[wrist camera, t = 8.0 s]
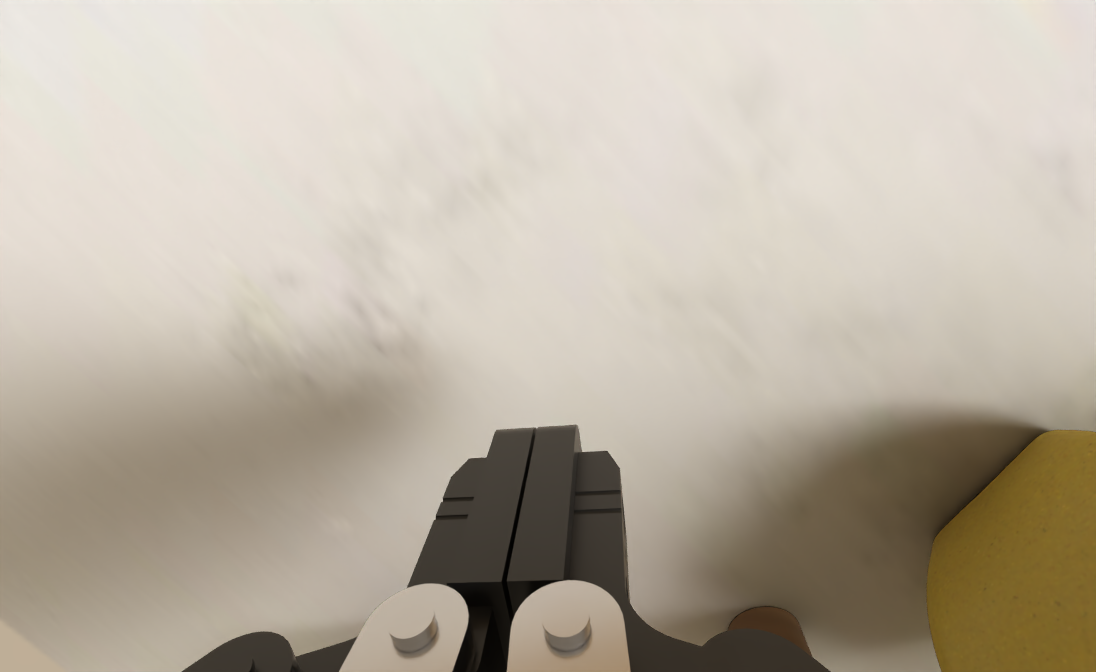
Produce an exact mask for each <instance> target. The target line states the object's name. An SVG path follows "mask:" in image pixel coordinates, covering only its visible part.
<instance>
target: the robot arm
mask: <svg viewBox="0 0 1096 672" xmlns="http://www.w3.org/2000/svg"><path fill="white" fill-rule="evenodd" d="M182 672H830V671H829V670H828V669H826V668H825V667H824V666H823V665H821V664H820V663H819V662H818V661H816V660H815V659H814V658H813V657H811V656H810V655H809V654H807V653H806V652H805V651H804V650H802V649H801V648H800V647H798V646H797V645H795V644H794V643H792V642H791V641H789V640H787V639H785V638H783V637H781V636H779V635H776V634H773V633H771V632H767V631H763V630H758V629H748V628H745V629H734V630H730V631H726V632H723V633H721V634H718V635H716V636H715V637H713V638H712V639H710V640H709V641H708V642H707V643H706V644H705V645H704V646H703V647H701V646H697V645H694V644H691V643H687V642H684V641H681V640H677V639H674V638H672V637H669V636H666V635H664V634H662V633H660V632H658V631H656V630H655V629H653V628H652V627H650V626H649V625H648V624H646V623H645V622H644V621H643V620H642V619H641V618H640V617H639V616H638V615H637V613H636V612H635V611H634V609H633V608H632V606H631V604H630V598H629V581H628V561H627V540H626V528H625V517H624V507H623V497H622V486H621V476H620V468H619V467H618V465H617V464H616V462H615V461H614V460H613V458H612V457H611V456H610V454H609V453H608V451H596V452H582V450H581V442H580V434H579V429H578V426H577V425H566V426H549V427H538V428H537V429H536V428H519V429H503V430H496V432H495V434H494V437H493V440H492V443H491V446H490V449H489V452H488V455H487V458H471V459H468V460H467V461H466V462H465V464H464V465H463V466H462V467H461V468H460V469H459V470H458V471H457V472H456V473H455V474H454V475H453V476H452V477H451V479H450V481H449V484H448V486H447V489H446V491H445V494H444V496H443V502H441V504H440V507H439V509H438V512H437V514H436V520H434V522H433V524H432V527H431V529H430V532H429V534H428V537H427V539H426V542H425V544H424V547H423V549H422V552H421V554H420V557H419V559H418V562H417V564H416V567H415V569H414V572H413V574H412V577H411V579H410V582H409V584H408V587H407V588H406V589H404V590H402V591H399V592H397V593H396V594H394V595H392V596H391V597H389V598H388V599H386V600H385V601H384V602H382V603H381V604H380V605H379V606H378V607H377V608H376V609H375V610H374V611H373V613H372V614H371V615H370V616H369V618H368V619H367V621H366V622H365V624H364V626H363V628H362V629H361V631H360V633H359V635H358V637H356V638H354V639H351V640H348V641H345V642H343V643H339V644H336V645H333V646H330V647H326V648H323V649H320V650H317V651H313V652H310V653H307V654H304V655H300V656H297V657H295V655H294V653H293V650H292V648H291V646H290V644H289V642H288V641H287V640H286V639H285V638H284V637H283V636H281V635H279V634H276V633H272V632H255V633H250V634H246V635H243V636H240V637H237V638H235V639H232V640H230V641H228V642H226V643H224V644H223V645H221V646H219V647H218V648H216V649H214V650H213V651H211V652H210V653H208V654H207V655H205V656H204V657H203V658H201V659H200V660H198V661H197V662H195V663H194V664H192V665H191V666H189V667H188V668H186V669H185V670H183V671H182Z"/></svg>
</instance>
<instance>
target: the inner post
mask: <svg viewBox="0 0 1096 672" xmlns="http://www.w3.org/2000/svg"><path fill="white" fill-rule="evenodd" d="M745 628H748V629H758V630H763V631H767V632H771V633H773V634H776V635H779V636H781V637H783V638H785V639H787V640H789V641H791V642H792V643H794V644H795V645H797V646H798V647H800V648H801V649H802V650H804V651H805V652H806V653H807V654H809V655H810V656H811V657H812V655H811V652H810V650H809V647H808V645H807V642H806V640H805V637H804V635H803V632H802V630H801V627H800V625H799V622H798V621H797V619H796V618H795V617H794V616H793V615H792V614H791V613H789V612H787V611H785V610H783V609H779V608H775V607H758V608H753V609H750V610H747V611H745V612H743V613H741V614H740V615H738V616H737V617H736V618H735V619H734V620H733V621H732V622H731V624H730V626H729V628H728V631H730V630H734V629H745Z"/></svg>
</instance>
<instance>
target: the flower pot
mask: <svg viewBox="0 0 1096 672" xmlns="http://www.w3.org/2000/svg"><path fill="white" fill-rule="evenodd" d="M927 611H928V619H929V626H930V631H931V636H932V640H933V645H934V649H935V652H936V656H937V659H938V662H939V665H940V668H941V671H942V672H1096V432H1091V431H1078V430H1053V431H1048V432H1045V433H1043V434H1041V435H1040V436H1038V437H1037V438H1036V439H1034V440H1033V441H1032V442H1031V443H1030V444H1029V445H1028V446H1027V447H1026V448H1025V449H1024V450H1023V451H1022V452H1021V453H1020V454H1019V455H1018V456H1017V457H1016V458H1015V459H1014V460H1013V461H1012V462H1011V463H1010V464H1009V465H1008V466H1007V467H1006V468H1005V469H1004V470H1003V471H1002V472H1001V473H1000V474H999V475H998V476H997V477H996V478H995V479H994V480H993V481H992V482H991V483H990V484H989V485H988V486H987V487H986V488H985V489H984V490H983V491H982V492H981V493H980V494H979V495H978V496H977V497H976V498H974V499H973V500H972V501H971V502H970V503H969V504H968V505H967V506H966V507H965V508H964V509H962V510H961V511H960V512H959V513H958V514H957V515H956V516H955V517H954V518H953V519H952V520H951V521H950V522H949V523H948V524H947V525H946V526H945V527H944V528H943V529H942V530H941V531H940V532H939V533H938V535H937V536H936V537H935V540H934V542H933V546H932V551H931V556H930V561H929V566H928V575H927Z"/></svg>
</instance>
